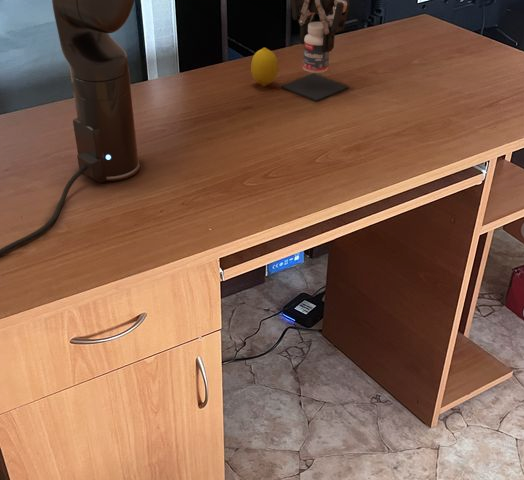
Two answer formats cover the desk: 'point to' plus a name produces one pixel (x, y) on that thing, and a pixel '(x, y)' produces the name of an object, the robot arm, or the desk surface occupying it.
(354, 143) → the desk surface
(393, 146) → the desk surface
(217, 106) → the desk surface
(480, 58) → the desk surface
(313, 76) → the coaster
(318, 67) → the pill bottle
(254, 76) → the lemon
